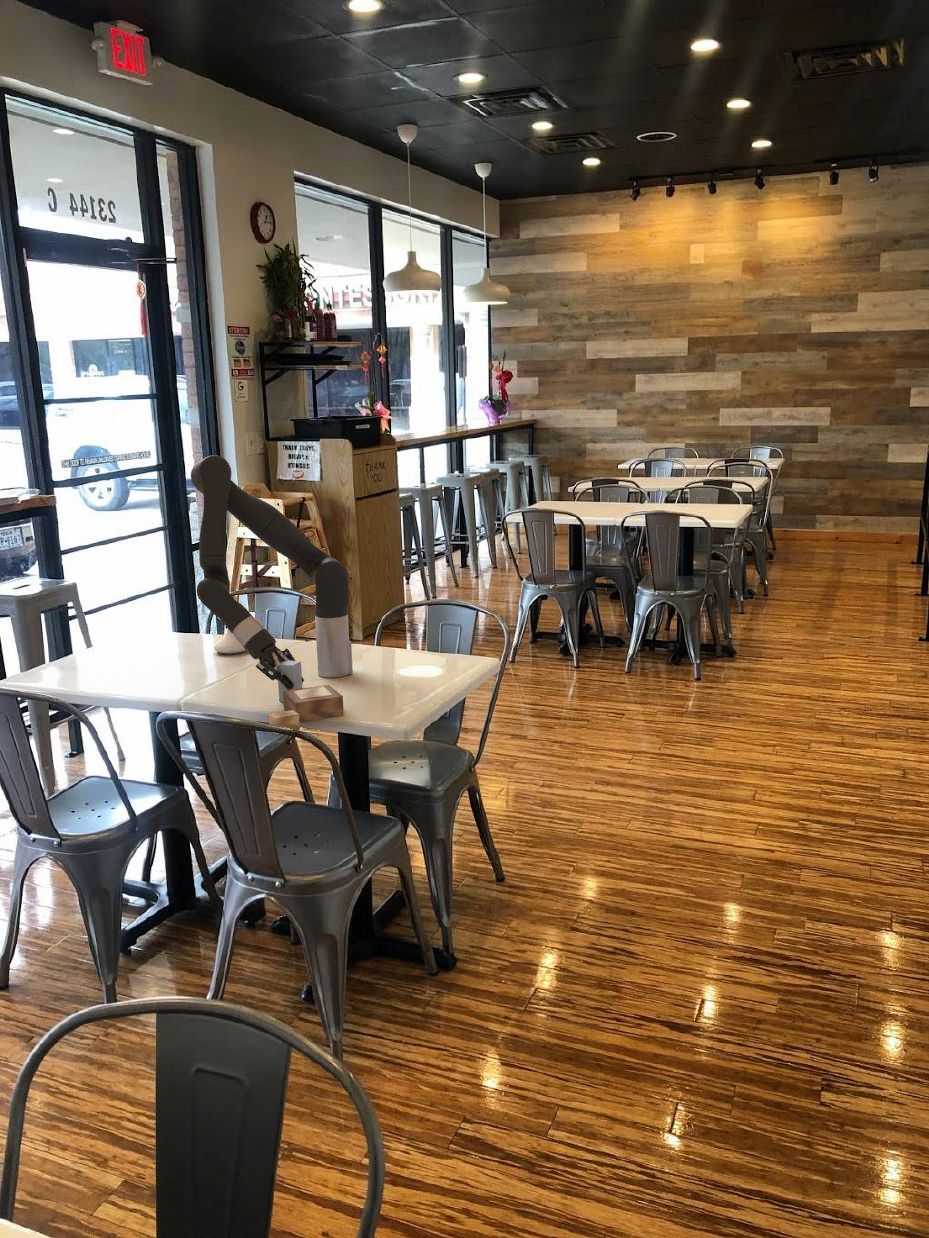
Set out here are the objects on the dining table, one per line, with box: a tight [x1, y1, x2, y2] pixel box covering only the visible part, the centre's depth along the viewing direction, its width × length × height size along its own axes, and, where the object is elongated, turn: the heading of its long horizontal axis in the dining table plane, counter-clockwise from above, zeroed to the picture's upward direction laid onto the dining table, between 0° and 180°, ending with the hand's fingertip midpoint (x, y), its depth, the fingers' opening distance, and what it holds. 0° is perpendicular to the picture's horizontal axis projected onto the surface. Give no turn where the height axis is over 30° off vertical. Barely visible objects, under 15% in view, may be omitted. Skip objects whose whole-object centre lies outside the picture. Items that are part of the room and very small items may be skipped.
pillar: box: [277, 660, 303, 703], centre depth 274 cm, size 4×4×10 cm
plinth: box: [283, 684, 345, 723], centre depth 263 cm, size 12×12×5 cm
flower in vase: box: [213, 579, 247, 654], centre depth 327 cm, size 13×11×25 cm
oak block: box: [268, 710, 301, 735], centre depth 250 cm, size 6×4×4 cm, turn 120°
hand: (296, 685), depth 274 cm, fingers closed on pillar, 4 cm apart
